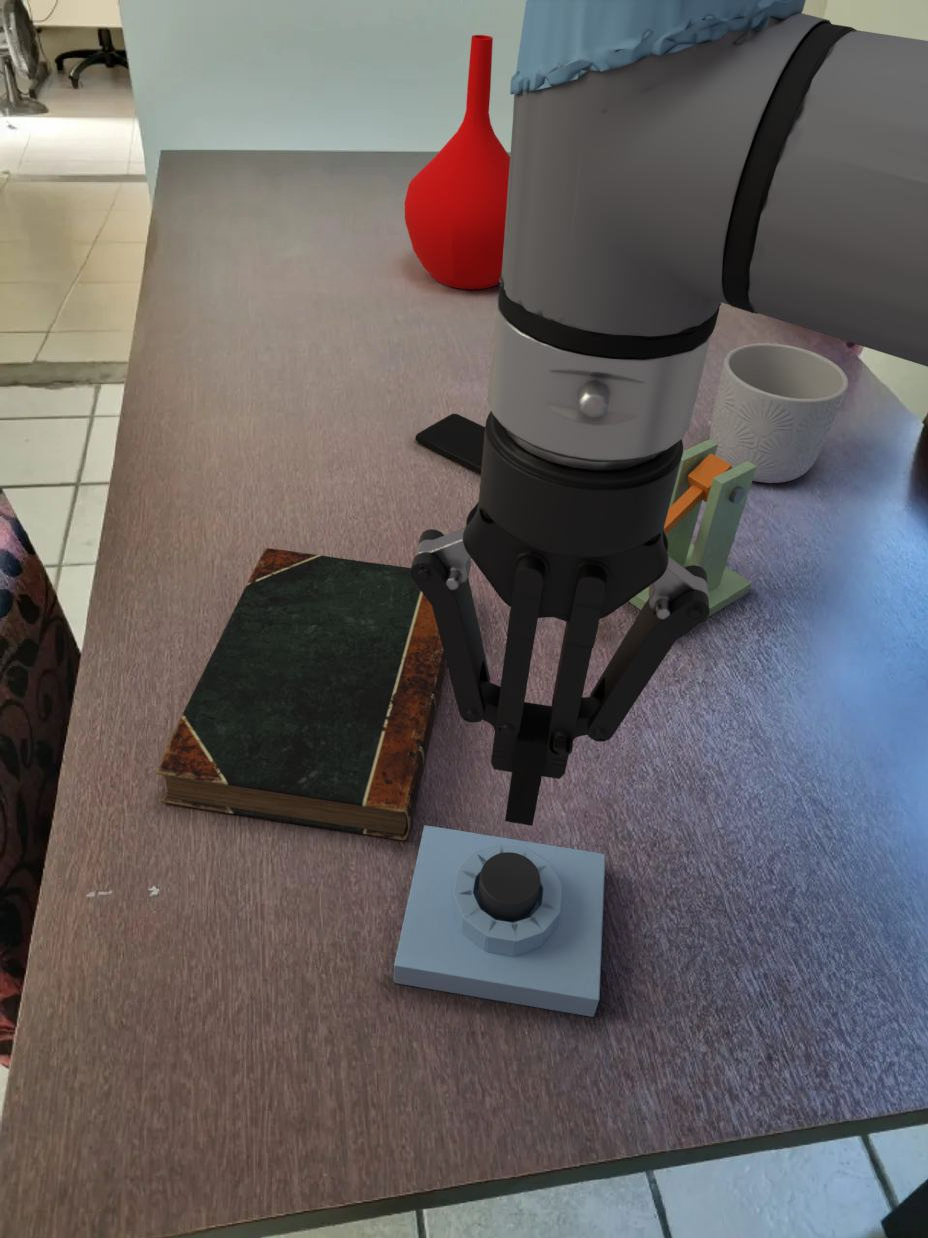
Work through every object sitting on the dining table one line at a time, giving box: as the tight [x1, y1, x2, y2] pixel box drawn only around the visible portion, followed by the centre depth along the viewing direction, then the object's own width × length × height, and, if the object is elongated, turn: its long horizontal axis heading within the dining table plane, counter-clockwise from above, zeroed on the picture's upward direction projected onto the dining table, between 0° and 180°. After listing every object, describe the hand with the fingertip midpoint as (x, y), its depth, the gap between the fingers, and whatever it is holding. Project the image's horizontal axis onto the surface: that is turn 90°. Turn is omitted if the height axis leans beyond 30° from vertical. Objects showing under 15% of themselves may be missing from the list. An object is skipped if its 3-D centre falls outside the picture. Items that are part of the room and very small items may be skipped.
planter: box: [708, 342, 849, 484], centre depth 99 cm, size 12×12×11 cm
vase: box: [404, 34, 510, 290], centre depth 125 cm, size 18×18×30 cm
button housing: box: [393, 824, 606, 1018], centre depth 58 cm, size 12×10×4 cm
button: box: [478, 852, 540, 920], centre depth 56 cm, size 4×4×2 cm
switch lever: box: [664, 453, 732, 535], centre depth 76 cm, size 14×4×4 cm, turn 129°
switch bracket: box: [628, 439, 757, 620], centre depth 80 cm, size 10×8×14 cm
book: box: [155, 547, 447, 841], centre depth 72 cm, size 17×4×25 cm
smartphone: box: [415, 413, 485, 475], centre depth 99 cm, size 7×1×15 cm
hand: (521, 803), depth 51 cm, fingers closed
